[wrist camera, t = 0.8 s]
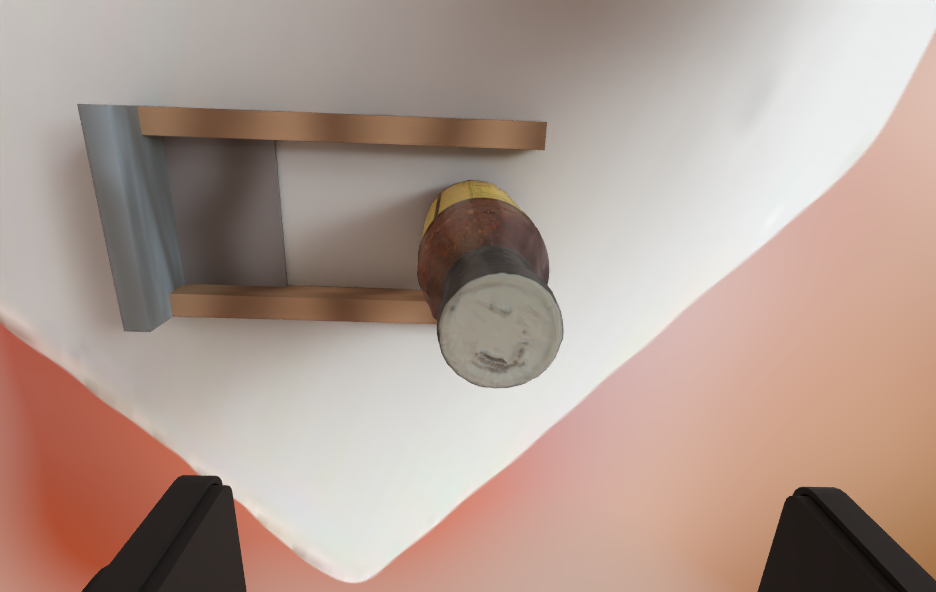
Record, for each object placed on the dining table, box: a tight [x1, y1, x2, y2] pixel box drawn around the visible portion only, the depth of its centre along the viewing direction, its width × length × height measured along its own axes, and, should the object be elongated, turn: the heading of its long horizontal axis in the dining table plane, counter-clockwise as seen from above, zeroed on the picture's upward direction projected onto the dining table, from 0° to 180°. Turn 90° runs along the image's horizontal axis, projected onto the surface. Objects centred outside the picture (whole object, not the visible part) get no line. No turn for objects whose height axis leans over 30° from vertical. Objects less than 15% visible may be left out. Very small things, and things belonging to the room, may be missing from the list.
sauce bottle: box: [417, 180, 563, 388], centre depth 25 cm, size 6×6×20 cm
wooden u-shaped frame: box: [77, 104, 547, 332], centre depth 32 cm, size 26×13×5 cm, turn 88°
